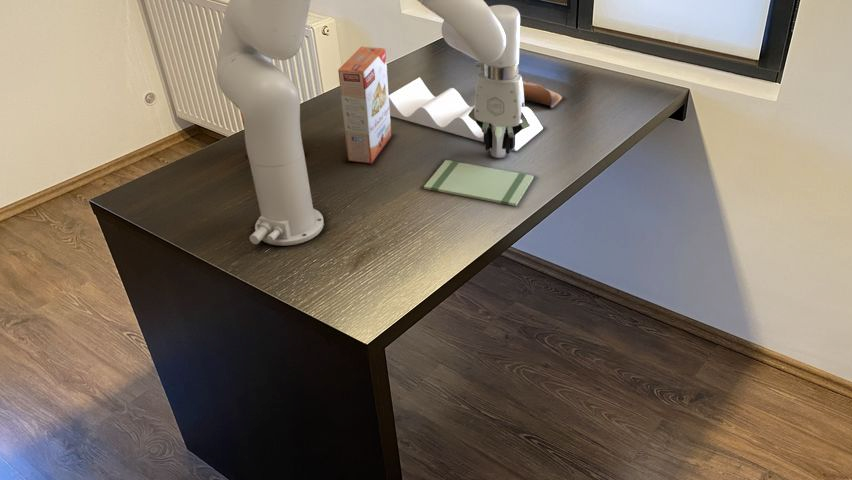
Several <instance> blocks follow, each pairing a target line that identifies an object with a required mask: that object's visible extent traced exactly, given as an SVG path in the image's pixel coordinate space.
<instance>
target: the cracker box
mask: <svg viewBox="0 0 852 480" xmlns="http://www.w3.org/2000/svg"><path fill="white" fill-rule="evenodd" d="M387 64H388V63H387V51H386V48H382V47H372V46H360V47H359V48H358V49H357V50H356V52H353V54H352V55H351V56H350V58H348V59H347V60H346V61H345V62H344V63H343V64H342V65H341V66H340V67H339V68H338V70H337V71H338V81H339V89H340V91H339V92H340V98H341V99H340V100H341V109H342V117H343V118H342V119H343V125H344V126H343V127H344V135H345V144H346V153H347V160H348V162H356V163H363V164H370V165H371V164H373V163H374V161H375V160H376V158H377V157H378V155H379V154H380V153H381V151H382V150H383V149H384V147H385V146H386V144H387V143H388V141H389V140H390V139H391V137H392V126H391V116H390V109H389V95H390V94H389V81H388V65H387Z"/></svg>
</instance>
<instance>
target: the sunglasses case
mask: <svg viewBox="0 0 852 480" xmlns="http://www.w3.org/2000/svg"><path fill="white" fill-rule="evenodd" d="M522 82H523V89H524V100H526V101H529V102H533V103H538V104H542V105H545V106H549V107H550V108H551V109H553V108H554V107H556V106H557V105H558V104H559V103H560V101H562V99H563V96H562V95H560V94H559V93H557V92H555V91H552V90H551V89H547V88H546V87H544V86H542V85H540V84H538V83H533V82H530V81H525V80H522Z"/></svg>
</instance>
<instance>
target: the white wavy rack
mask: <svg viewBox="0 0 852 480" xmlns="http://www.w3.org/2000/svg"><path fill="white" fill-rule="evenodd" d="M473 108H474V104H473V105H472V106H470V105H468V104H467V102H466V101H465V99H464V98H463V97H462V95H461V94H460V93H459V91H458V90H457V89H455V88H454V87H449V88H447V89H446V90H445V91H443V92H441V93H440V94H439V95H437V96H435V95H433V93H432V92H431V91H430V89H428V87H427V85H426V84H425V83H424V81H423V79H422V78H421V77H418V78H416V79H414V80H412V81H411V82H409V83H408V84H406V85H404V86H402V87H400V88H399V89H397V90H395V91H394V92H392V93H391V94H389V109H390V117H392V118H396V119H400V120H403V121H407V122H411V123H413V124H418V125H421V126H424V127H429V128H433V129H435V130H439V131H443V132H446V133H449V134H454V135H457V136H461V137H464V138H468V139H470V140H471V139H472V140H475V141H478V142H482V143H484V133H483V132H482V129H481V128H480V127H479V126H478V125H477V123H476V122H475V121H474V120H472V119H471V118H470V117H469V116H468V115H469V113H470V112H471V110H472V109H473ZM524 110H525V112H526V113H527V115H528V117H529V119H530V120H531V122H532V123H531V125H530V126H529V127H527V128H525V129H523V130H521V131H520V132H519V133H517V134H516V135H515V148H514V149H512V150H511V151H514V152H517V151H518V150H520V149H521V148H522V147H523V146H524V145H526V144H527V143H528V142H530V140H531V139H533V138H534V137H536V135H538V134H539V133H541V131H542V130H543V129H544V127H543V126H542V124H541V122H540V121H539V119H538V118H537V116H536V115H535V113H534V112H533V111H532V109H531V108H529V106H525V105H524ZM520 123H522V120H520Z"/></svg>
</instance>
